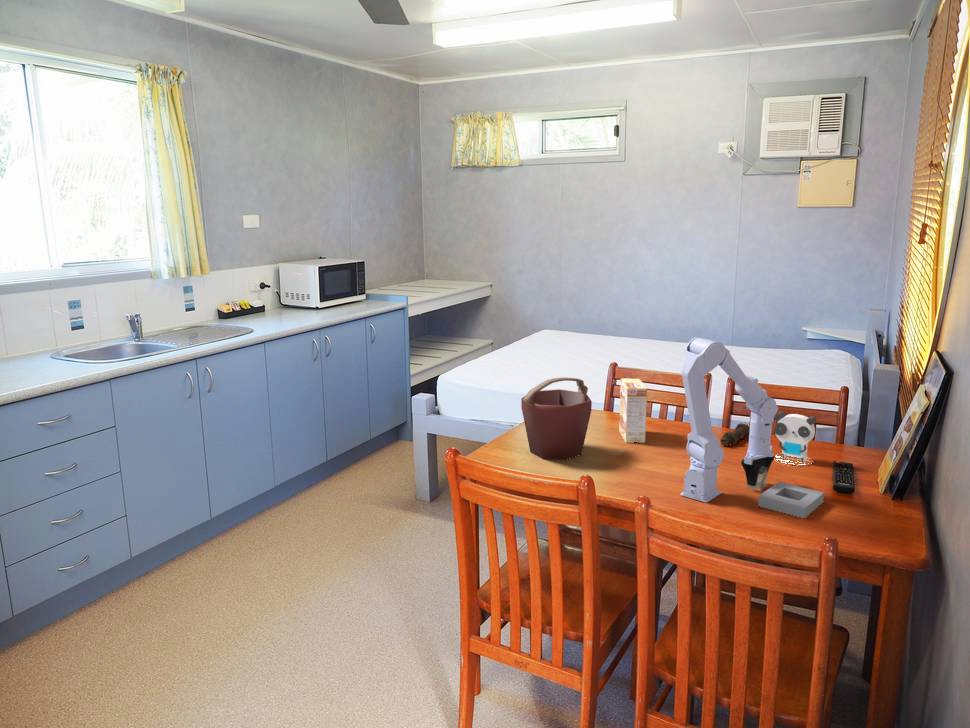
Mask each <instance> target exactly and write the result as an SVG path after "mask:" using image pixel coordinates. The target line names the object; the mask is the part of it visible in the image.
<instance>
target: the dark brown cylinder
mask: <svg viewBox="0 0 970 728" xmlns="http://www.w3.org/2000/svg"><path fill="white" fill-rule="evenodd" d="M749 433H750V425H749V424H746V423H742V422H741V423H738V424H737V426H735V428H734V430H733V431H729V430H728V431H726V432H725V433H724V434H723V436H722V437H721V438H720V441H719V443H720V444H721V445H722V446H723V447H724V446H725V447H727V446H734V445H736V443H737V442H738V440H740V439H743V438H747V439H749ZM742 437H743V438H742ZM729 444H731V445H729Z"/></svg>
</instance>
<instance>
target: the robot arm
mask: <svg viewBox="0 0 970 728" xmlns="http://www.w3.org/2000/svg"><path fill="white" fill-rule="evenodd" d="M684 353H685V357H684V361H683V365H682V369H681V377H682V382H683V383H682V384H683V389H684V394H685V401H686V407H687V411H688V413H687V414H688V417H689V423H690V429H691V431H690V433H688V434H687V443H686V453H687V454H688V455H689V460H690V466H689V469H687V471H686V472H685V473H684V478H683V479H684V480H683V491H682V492H680V494H679V495H680V496H682V497H684V498H685V497H686V498H689V499H693V500H696V501H700V502H702V503H703V502H704V503H708V502H710V501H711V500H714V499H715V498H717V497H718V496H720V495H721V494H722V493H723V491H721V490H717V485H718V484H717V482H718V468H719V467H720V466H719V465H721V464H722V462H723V460H724V456H725V453H724V449H723V448H722V446H721V445H720V441H719V438H718V437H717V436H716V433H715V432H714V430H713V426H712V420H711V414H710V407H709V402H708V396H707V389H706V384H705V377H706V375H708V374H709V373H710V372H712V371H713V370H714V369H715V368H717V367H718V366H719V367H720V368H721V370H722V371H724V372H725V374H726V375H728V377H729V378H730V379H731V380H732V381H733V382H734V383H735V385H734V389H735V391H736V392H737V394H739V396H740V397H741V398H742V400H744V401H745V404H746V409H747V410H748V411H750V418H749V419H750V422H749V427H750V433H749V437H748V445H747V446H748V447H747V450H746V455H745V456H744V458H743V459H741V461H740V463H741V466H742V468H743V470H744V474H745V477H746V485H747V484H748V485H751V486H756V483H757V479H758V474H759V472H760V469H761V467H762V466H764V467H768V468H767V474H768V473H769V470H770V467H771V465H772V463H773V462H774V460H775V456H776V455H775V453H774V452H773V445H771V441H772V428H773V422H774V420H775V419H774V417H775V415H776V414H778V413H777V412H778V410H779V406H778V404H777V401H776V400H775V399H774V398H772V397H770V396H768V391H767V390H766V389H763V388H762V386H761V385H760V384H759V383H758V382H759V379H758V378H757V377H754V376H751V375H746V374H745V372H744V371H743V369H742V368H741V367H740V366H739V364H738V363H737V361H736V360H735V359H734V358H733V356H732V354H731V353H730V350H729V349H728V348H727V347H726V346H725V345H724V343H722V342H721V341H715V340H711V339H707V338H705V337H702V336H695V337H693V338H692V339H690V341H689V342H688V343H687V345H686V346H685V347H684Z"/></svg>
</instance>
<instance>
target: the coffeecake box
mask: <svg viewBox="0 0 970 728" xmlns="http://www.w3.org/2000/svg"><path fill="white" fill-rule="evenodd" d="M619 392H620V393H619V394H620V395H619V396H620V397H619V399H620V400H619V425H618V428H619V429H618V431H619V433H620V434H621V437H622V438H623V440H624V442H625V443H626V442H627V443H626V444H635V443H634V442H637V443H636V444H645V443H646V425H647V403H648V401H647V397H648V396H647V395H648V387H646V385H645V384H644V382H642V380H641V379H640V378H626V377H625V378H620V391H619ZM628 442H629V443H628ZM638 442H639V443H638Z"/></svg>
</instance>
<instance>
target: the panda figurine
mask: <svg viewBox="0 0 970 728" xmlns="http://www.w3.org/2000/svg"><path fill="white" fill-rule="evenodd" d="M774 420H775V421H776V422H777V423H776V424H775V426H774V434H775V436H776V438H777V439H778V440H779V444H778V447H779V448H780V450H781V454H782V457H781V456H777V455H778V454H776V455H775V457H776V458H780V457H781V458H782V459H785V458H786V457H787V456H791V457H797V458H801V459H793V458H789V457H787V458H786V459H788V460H782V459H776V460H777V461H778V460H780V461H781V463H785V464H787V463H786V462H789V461H790V460H789V459H792V460H797V462H799V461H798V460H800V461H801V462H799V463H804V464H798V465H806V464H805V463H806V462H805V461H809V460H807V458H808V459H811V458H810V457H808V449H809V447H808V446H809V442H811V441H812V440H813V439H814V437H815V433H816V428H815V423H817V417H816V416H813V415H811V416H810V417H808V416H806V415H802V414H798V413H790V414H789V413H788V414H787V415H786V413H785V412H784V411H779V412H778V413H776V414H775V416H774ZM776 460H775V461H776ZM777 461H776V462H777ZM782 461H785V462H782ZM790 462H793V461H790ZM797 462H795V463H797ZM809 462H810V461H809ZM812 462H813V463H814V460H813V461H812ZM781 463H780V464H781ZM785 464H784V465H785ZM788 464H793V465H795V464H794V463H788ZM808 464H809V463H808ZM811 464H812V463H811ZM798 465H797V466H798ZM812 465H813V464H812ZM797 466H796V467H797Z"/></svg>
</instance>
